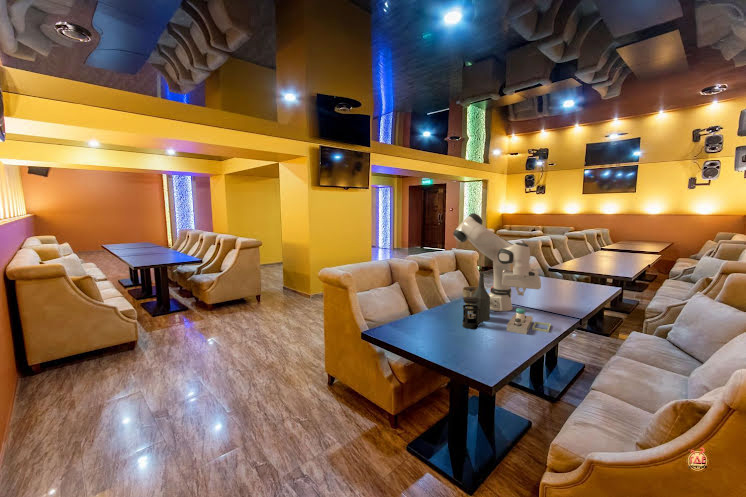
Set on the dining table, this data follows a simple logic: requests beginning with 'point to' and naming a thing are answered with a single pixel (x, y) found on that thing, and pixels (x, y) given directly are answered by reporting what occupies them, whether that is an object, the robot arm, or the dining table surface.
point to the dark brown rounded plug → (517, 321)
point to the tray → (541, 324)
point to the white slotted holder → (523, 326)
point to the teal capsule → (520, 314)
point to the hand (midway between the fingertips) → (520, 295)
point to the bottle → (482, 300)
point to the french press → (470, 319)
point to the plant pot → (469, 293)
